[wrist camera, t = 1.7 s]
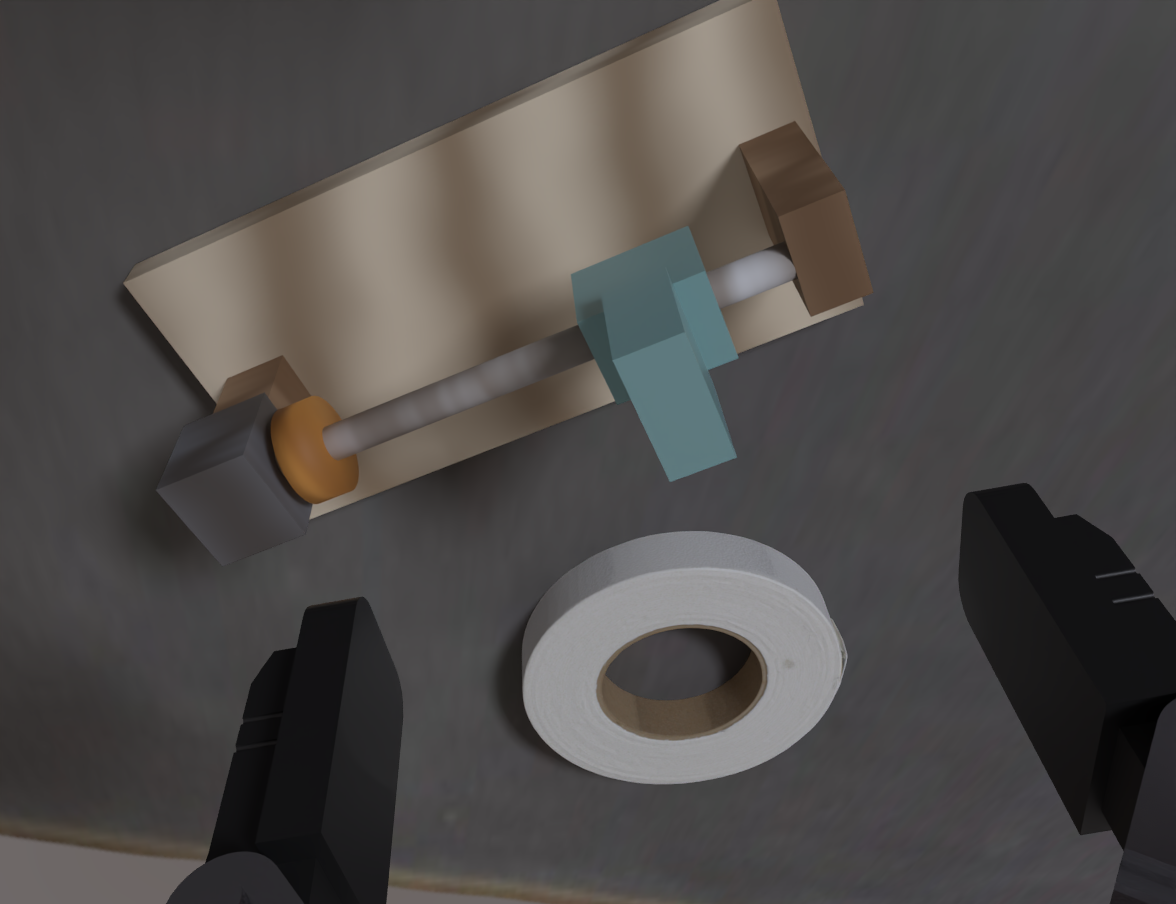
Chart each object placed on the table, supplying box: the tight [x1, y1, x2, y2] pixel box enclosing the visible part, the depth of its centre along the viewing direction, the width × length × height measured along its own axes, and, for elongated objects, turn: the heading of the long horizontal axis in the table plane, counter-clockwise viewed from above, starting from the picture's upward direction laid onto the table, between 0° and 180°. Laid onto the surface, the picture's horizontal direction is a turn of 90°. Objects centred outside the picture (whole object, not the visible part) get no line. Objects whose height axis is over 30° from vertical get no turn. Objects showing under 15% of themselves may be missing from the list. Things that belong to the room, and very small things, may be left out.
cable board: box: [123, 0, 873, 567], centre depth 35 cm, size 24×12×9 cm, turn 113°
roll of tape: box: [522, 531, 847, 784], centre depth 50 cm, size 16×15×3 cm
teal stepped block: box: [571, 226, 738, 482], centre depth 30 cm, size 4×4×7 cm
